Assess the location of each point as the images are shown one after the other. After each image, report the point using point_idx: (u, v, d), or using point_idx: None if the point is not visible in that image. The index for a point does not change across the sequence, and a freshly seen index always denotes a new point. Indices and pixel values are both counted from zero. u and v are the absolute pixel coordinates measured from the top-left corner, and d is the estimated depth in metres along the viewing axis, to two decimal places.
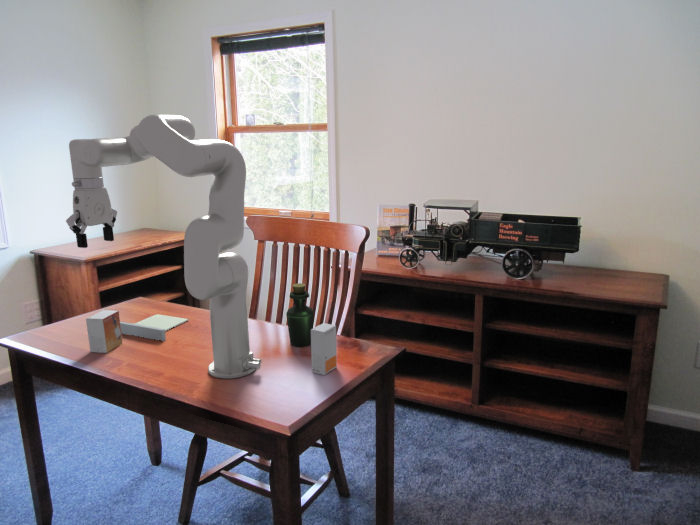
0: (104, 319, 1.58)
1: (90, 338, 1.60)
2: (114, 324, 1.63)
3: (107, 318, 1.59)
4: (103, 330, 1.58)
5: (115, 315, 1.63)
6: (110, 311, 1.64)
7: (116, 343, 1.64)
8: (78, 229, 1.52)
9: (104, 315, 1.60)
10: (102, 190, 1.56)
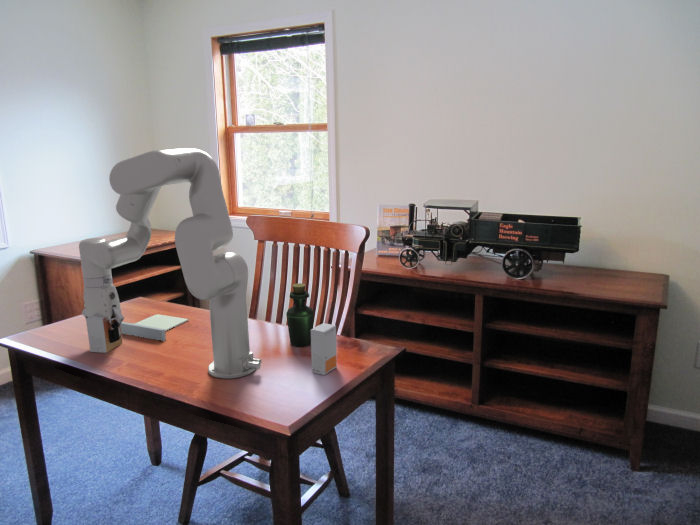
0: (104, 319, 1.58)
1: (90, 338, 1.60)
2: None
3: None
4: (103, 330, 1.58)
5: None
6: None
7: (116, 343, 1.64)
8: None
9: None
10: None
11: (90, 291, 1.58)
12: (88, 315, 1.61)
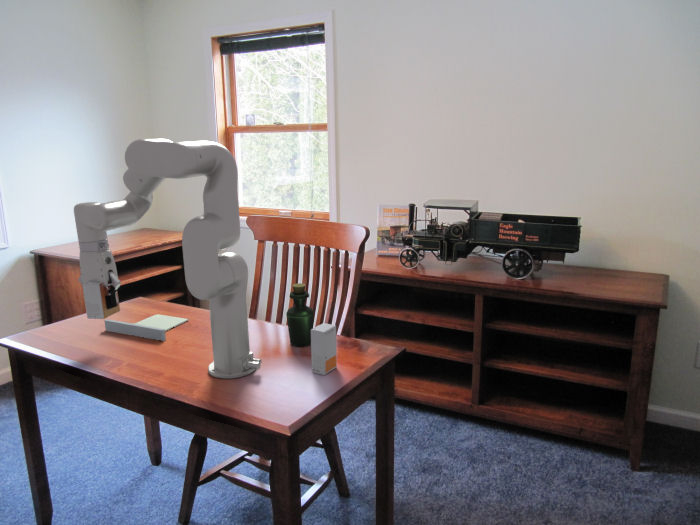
0: (101, 284, 1.55)
1: (87, 304, 1.57)
2: None
3: None
4: (100, 295, 1.55)
5: None
6: None
7: (113, 310, 1.61)
8: None
9: None
10: None
11: (86, 256, 1.55)
12: (84, 281, 1.58)
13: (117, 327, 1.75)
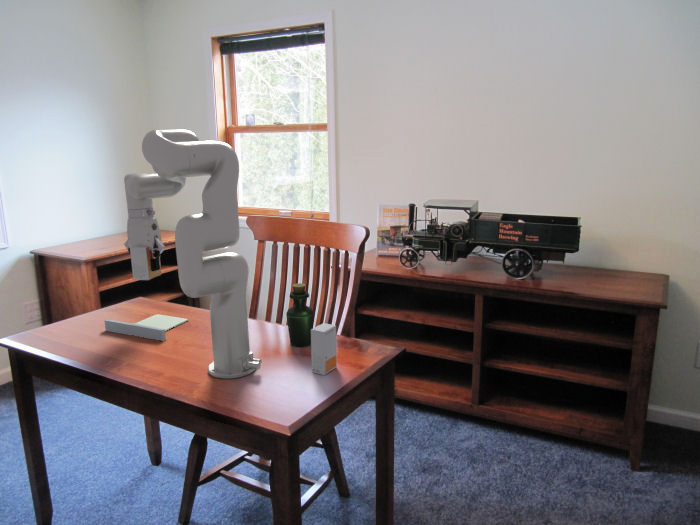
0: (147, 248, 1.71)
1: (133, 266, 1.72)
2: None
3: None
4: (146, 258, 1.71)
5: None
6: None
7: (156, 273, 1.76)
8: None
9: None
10: None
11: (134, 222, 1.70)
12: (131, 246, 1.74)
13: (117, 327, 1.75)
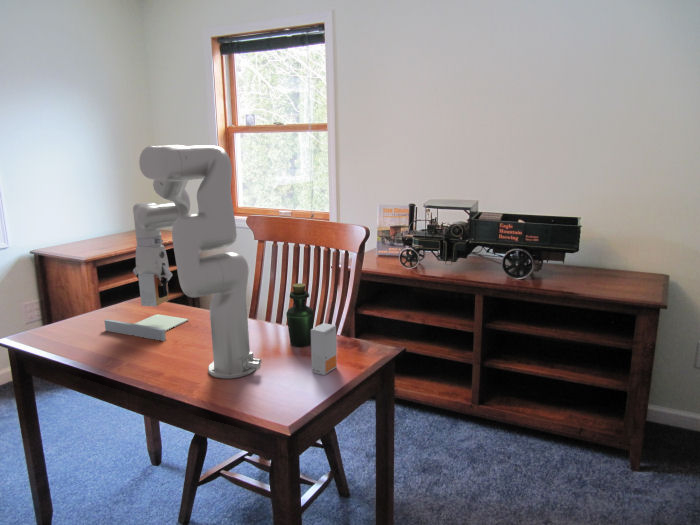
0: (155, 275, 1.75)
1: (141, 293, 1.76)
2: None
3: None
4: (154, 285, 1.75)
5: None
6: None
7: (164, 299, 1.81)
8: None
9: None
10: None
11: (142, 250, 1.74)
12: (139, 273, 1.78)
13: (117, 327, 1.75)
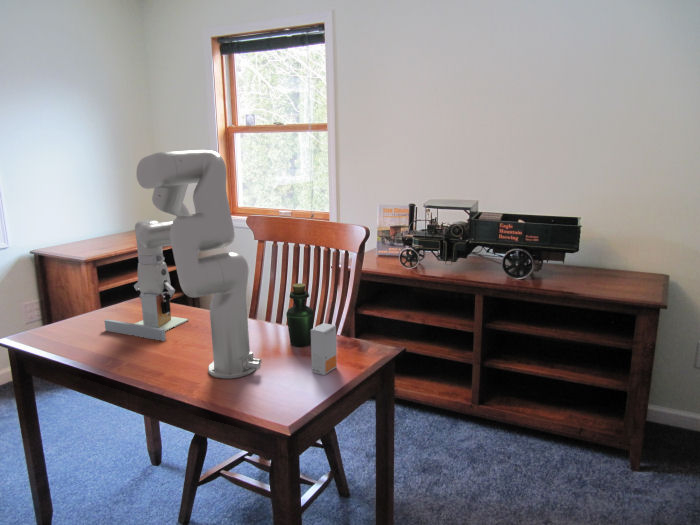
0: (157, 297, 1.76)
1: (144, 313, 1.78)
2: None
3: (159, 296, 1.78)
4: (156, 306, 1.76)
5: None
6: None
7: (166, 319, 1.82)
8: None
9: None
10: None
11: (144, 268, 1.76)
12: (141, 290, 1.79)
13: (117, 327, 1.75)
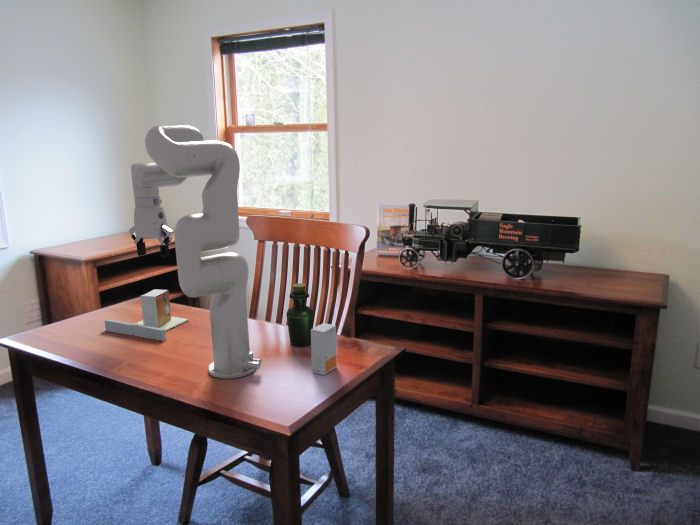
0: (156, 297, 1.76)
1: (144, 314, 1.78)
2: (165, 302, 1.81)
3: (159, 296, 1.78)
4: (155, 306, 1.76)
5: (166, 293, 1.81)
6: (161, 290, 1.82)
7: (166, 319, 1.82)
8: None
9: (156, 293, 1.78)
10: None
11: (140, 211, 1.72)
12: (138, 235, 1.75)
13: (117, 327, 1.75)
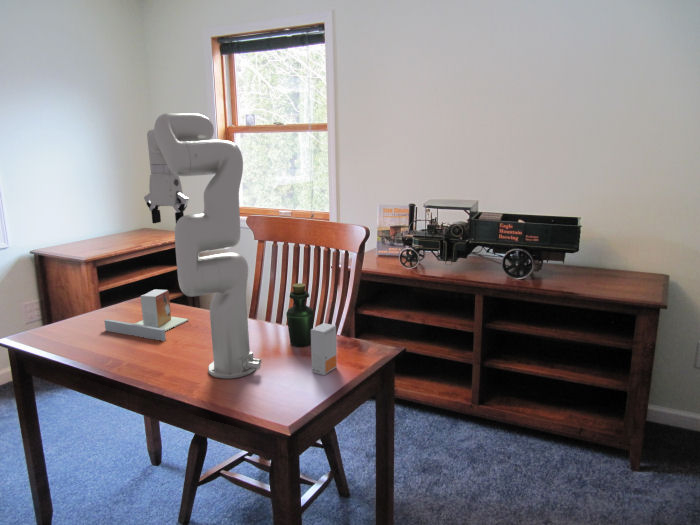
0: (156, 297, 1.76)
1: (144, 314, 1.78)
2: (165, 302, 1.81)
3: (159, 296, 1.78)
4: (155, 306, 1.76)
5: (166, 293, 1.81)
6: (161, 290, 1.82)
7: (166, 319, 1.82)
8: None
9: (156, 293, 1.78)
10: None
11: (156, 178, 1.72)
12: (153, 202, 1.75)
13: (117, 327, 1.75)
